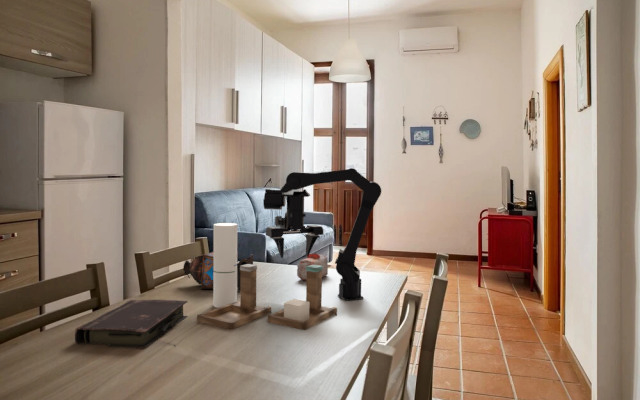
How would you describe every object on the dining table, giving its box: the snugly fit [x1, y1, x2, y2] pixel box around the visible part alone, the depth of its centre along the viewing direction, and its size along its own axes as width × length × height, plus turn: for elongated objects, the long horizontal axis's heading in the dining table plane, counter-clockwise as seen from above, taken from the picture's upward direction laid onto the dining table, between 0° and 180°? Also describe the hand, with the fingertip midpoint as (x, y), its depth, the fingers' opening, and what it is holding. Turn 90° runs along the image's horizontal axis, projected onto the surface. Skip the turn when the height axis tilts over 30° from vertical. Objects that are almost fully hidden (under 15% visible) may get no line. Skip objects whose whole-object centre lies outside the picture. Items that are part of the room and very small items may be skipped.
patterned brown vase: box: [182, 251, 254, 292], centre depth 170 cm, size 16×16×25 cm
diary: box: [74, 299, 189, 349], centre depth 125 cm, size 19×25×5 cm
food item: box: [296, 252, 329, 282], centre depth 185 cm, size 14×8×10 cm, turn 154°
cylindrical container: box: [212, 222, 238, 309], centre depth 147 cm, size 7×7×25 cm
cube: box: [283, 298, 310, 322], centre depth 131 cm, size 5×5×5 cm
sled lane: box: [266, 265, 338, 331], centre depth 133 cm, size 17×12×14 cm
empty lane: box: [196, 264, 272, 330], centre depth 133 cm, size 17×12×14 cm
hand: (294, 256), depth 159 cm, fingers open, 9 cm apart
